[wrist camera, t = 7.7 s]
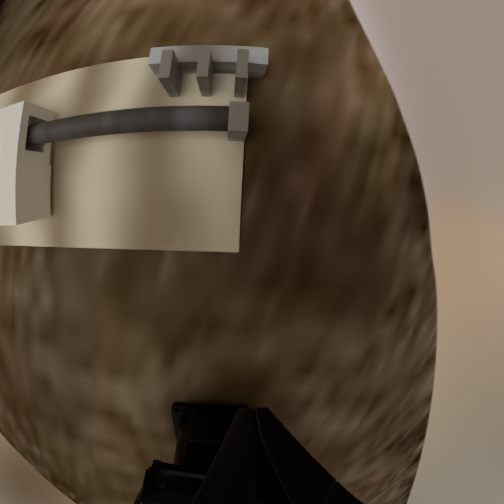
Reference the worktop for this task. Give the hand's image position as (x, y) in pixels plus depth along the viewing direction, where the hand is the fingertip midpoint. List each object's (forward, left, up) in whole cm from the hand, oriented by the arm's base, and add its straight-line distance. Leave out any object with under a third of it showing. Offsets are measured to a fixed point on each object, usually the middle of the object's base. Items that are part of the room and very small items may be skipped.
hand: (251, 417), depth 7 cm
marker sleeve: (+8, +15, -11) cm, 21 cm away
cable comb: (+9, +11, -12) cm, 19 cm away
